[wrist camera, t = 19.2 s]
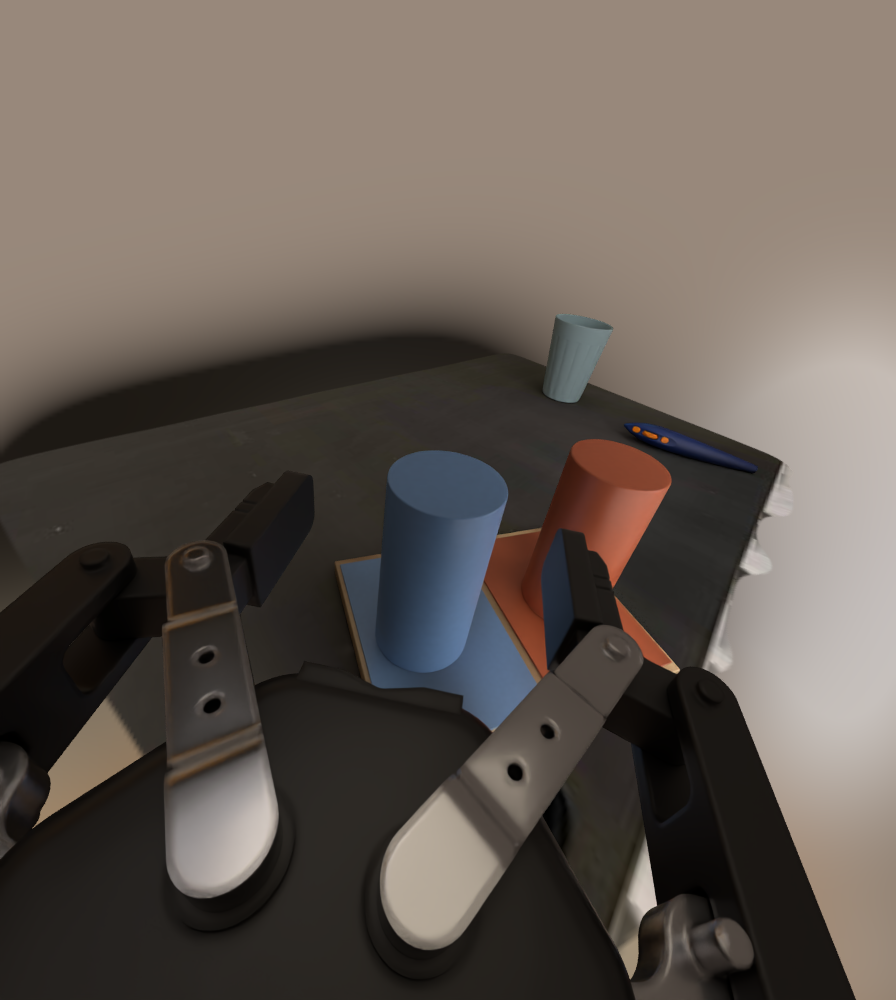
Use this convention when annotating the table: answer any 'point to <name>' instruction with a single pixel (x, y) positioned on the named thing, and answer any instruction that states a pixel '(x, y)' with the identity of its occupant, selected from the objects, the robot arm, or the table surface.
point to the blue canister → (435, 555)
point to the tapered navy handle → (686, 446)
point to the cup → (573, 355)
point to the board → (474, 634)
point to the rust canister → (600, 506)
